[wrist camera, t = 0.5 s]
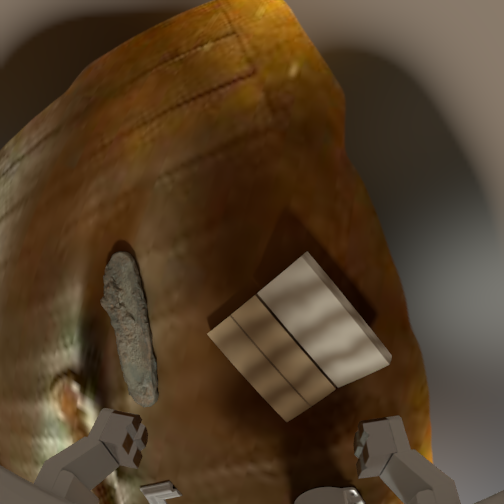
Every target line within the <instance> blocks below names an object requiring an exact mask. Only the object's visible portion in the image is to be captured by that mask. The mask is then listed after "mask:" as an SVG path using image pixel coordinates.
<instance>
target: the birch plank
mask: <svg viewBox="0 0 504 504" xmlns="http://www.w3.org/2000/svg"><path fill="white" fill-rule="evenodd" d="M257 294H258V295H259V296H260V297H261V299H262V300H263V301H264V302H265V303H266V305H267V306H268V307H269V308H270V309H271V311H272V312H273V313H274V314H275V315H276V316H277V318H278V319H279V320H280V321H281V322H282V323H283V325H284V326H285V327H286V328H287V329H288V331H289V332H290V333H291V334H292V335H293V336H294V338H295V339H296V340H297V341H298V342H299V343H300V345H301V346H302V347H303V348H304V349H305V350H306V351H307V353H308V354H309V355H310V356H311V357H312V358H313V360H314V361H315V362H316V363H317V364H318V365H319V367H320V368H321V369H322V370H323V371H324V372H325V373H326V375H327V376H328V377H329V378H330V379H331V380H332V381H333V383H334V384H335V385H336V386H337V387H338V388H339V387H341V386H344V385H346V384H348V383H351V382H353V381H355V380H357V379H360V378H362V377H364V376H366V375H368V374H371V373H373V372H375V371H377V370H379V369H381V368H383V367H385V366H387V365H389V364H390V361H391V357H392V355H391V354H390V353H389V351H388V350H387V349H386V348H385V346H384V345H383V344H382V342H381V341H380V340H379V339H378V337H377V336H376V335H375V333H374V332H373V331H372V330H371V328H370V327H369V326H368V325H367V323H366V322H365V321H364V320H363V318H362V317H361V316H360V315H359V313H358V312H357V311H356V310H355V308H354V307H353V306H352V305H351V303H350V302H349V301H348V300H347V299H346V297H345V296H344V295H343V294H342V292H341V291H340V290H339V289H338V288H337V286H336V285H335V284H334V283H333V281H332V280H331V279H330V278H329V277H328V275H327V274H326V273H325V272H324V271H323V269H322V268H321V267H320V266H319V265H318V263H317V262H316V261H315V260H314V259H313V257H312V256H311V255H310V254H309V253H308V252H306V253H304V254H303V255H302V256H301V257H300V258H298V259H297V260H296V261H295V262H294V263H293V264H291V265H290V266H289V267H288V268H287V269H285V270H284V271H283V272H282V273H281V274H279V275H278V276H277V277H276V278H275V279H273V280H272V281H271V282H270V283H269V284H267V285H266V286H265V287H264V288H263V289H261V290H260V291H259V292H258V293H257Z"/></svg>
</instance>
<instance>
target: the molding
mask: <svg viewBox="0 0 504 504" xmlns="http://www.w3.org/2000/svg"><path fill="white" fill-rule="evenodd" d="M140 490H141V491H142V492H143V494H144V495H145V497H146V498H147V499H148V501H149V503H150V504H167V503H166V501H165V499H169V498H174V497H179V496H182V494H181V493H180V492H179V491H178V490H177V489H173V484H172V483H171V482H170V481H169V482H164V483H160V484H155V485H150V486H145V487H141V488H140Z"/></svg>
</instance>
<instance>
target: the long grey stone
mask: <svg viewBox="0 0 504 504" xmlns="http://www.w3.org/2000/svg"><path fill="white" fill-rule="evenodd" d="M103 279H104V297H102V299H101V305H102V306H103V308H104V309H105V310H106V311H107V313H108V314H109V316H110V318H111V325H112V326H113V328H114V329H115V335H116V339H117V341H116V343H117V346H118V347H117V348H118V354H119V358H120V364H121V367H122V371H123V376H124V379H125V381H126V382H127V385H128V391H129V395H131V396H132V397H133V399H134V401H135V402H136V403H137V404H140V405H141V406H143V407H151V406H152V405H153V404H154V403H155V402H157V400H158V395H159V394H158V391H157V386H158V380H157V372H156V370H157V363H156V361H155V360H156V359H155V357H154V355H153V351H152V349H153V348H152V334H151V332H150V328H149V324H148V317H147V313H148V310H147V304H146V300H145V298H144V293H143V289H142V286H141V277H140V276H139V271H138V268H137V265H136V263H135V260H134V258H133V257H132V256H131V254H129V253H128V252H121V251H120V252H116V253H114V254H113V255H112V257H111V259H110V261H109V263H108V264H107V265H106V270H105V275H104V276H103Z"/></svg>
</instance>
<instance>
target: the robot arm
mask: <svg viewBox="0 0 504 504" xmlns="http://www.w3.org/2000/svg"><path fill="white" fill-rule="evenodd" d="M141 421H142V419H141V417H140V415H137V414H132V413H127V412H121V411H117V410H112V409H107V408H104V409H102V410H101V412H100V414H99V416H98V418H97V420H96V422H95V423H94V425H93V427H92V429H91V431H90V433H89V436H88V438H87V437H84V438H82V439H80V440H79V441H77V442H76V443H74V444H72V445H71V446H69V447H68V448H66V449H64V450H63V451H61V452H59V453H58V454H56V455H55V456H53V457H51V458H50V459H48V460H46V461H45V463H44V464H43V466H42V468H41V470H40V472H39V474H38V476H37V478H36V480H35V482H34V484H33V483H31V482H29V481H27V480H25V479H24V478H22V477H20V476H18V475H16V474H14V473H13V472H11V471H9V470H8V469H6V468H4V467H3V466H1V465H0V504H98V503H99V499H98V497H97V496H96V495H94V494H93V493H92V492H91V491H90V490H92V489H93V488H94V487H95V486H96V485H98V484H99V483H100V482H101V481H102V480H104V479H105V478H106V477H107V476H108V475H109V474H111V473H112V472H113V471H114V470H115V469H116V468H117V467H119V465H122V466H127V467H132V468H137V469H138V467H139V464H140V461H141V459H142V454H141V450H142V449H144V448H145V447H146V444H147V440H148V433H147V429H146V427H145V426H144V425H143V424H141ZM358 430H359V431H357V432H356V433H355V436H354V454H355V456H357V457H358V458H359V459H358V461H357V463H356V467H357V474H358V478H366V477H374V476H380V478H381V479H382V480H383V481H384V482H385V483H386V484H387V485H388V487H389V488H390V489H391V490H392V491H393V492H394V493H395V494H396V495H397V496H398V497H399V498H400V499H401V501H402V502H403V503H404V504H461V503H460V500H459V496H458V493H457V489H456V486H455V482H454V480H452V479H451V478H450V477H448V476H447V475H446V474H444V473H443V472H442V471H441V470H439V469H438V468H437V467H435V466H434V465H433V464H432V463H431V462H429V461H428V460H427V459H426V458H424V457H423V456H422V455H421V454H419V453H418V452H417V451H416V450H411V449H410V445H409V442H408V439H407V435H406V432H405V429H404V426H403V422H402V419H401V417H400V416H392V417H384V418H377V419H370V420H363V421H360V422H359V424H358ZM294 504H365V502H364V501H363V499H362V497H361V496H360V494H359V493H358V491H357V490H356V488H354V487H347V488H335V487H320V488H315V489H312V490H309V491H306V492H304V493H303V494H301V495H300V496H299V497H298V498H297V499H296V500H295V502H294ZM474 504H504V490H503V491H501V492H499V493H497V494H494V495H492V496H490V497H488V498H486V499H484V500H481V501H479V502H476V503H474Z"/></svg>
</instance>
